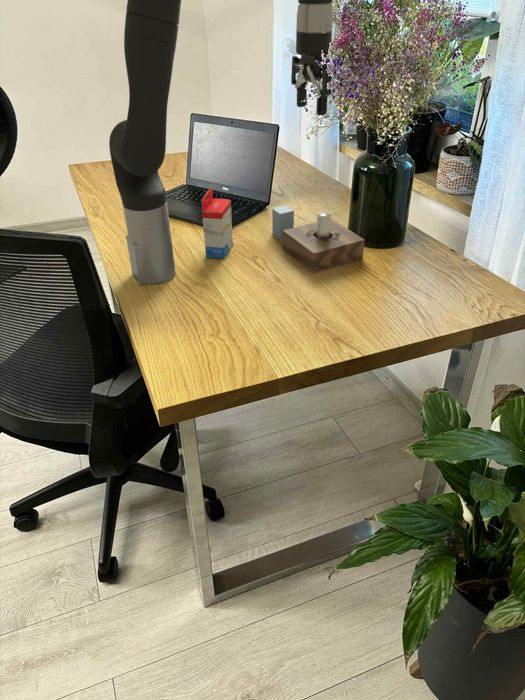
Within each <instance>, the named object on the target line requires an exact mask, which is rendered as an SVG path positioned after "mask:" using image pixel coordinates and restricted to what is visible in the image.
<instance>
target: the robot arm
mask: <svg viewBox="0 0 525 700" xmlns="http://www.w3.org/2000/svg"><path fill="white" fill-rule="evenodd" d="M181 5H182V0H127V3H126V8H125V9H126V12H125V19H124V20H125V21H124V33H123V35H124V36H123V49H124V58H125V61H124V62H125V68H126V73H127V74H126V75H127V82H128V89H129V90H128V91H129V101H128V108H127V109H128V110H127V117H126V118H127V119H124V120H121V121H120V122H118V123H117V124H116V125H115V126H114V127H113V129H112V130H111V133H110V134H109V142H108V144H109V145H108V146H109V155H110V160H111V165H112V168H113V170H112V171H113V174H114V179H115V183H116V188H117V191H118V193H119V195H120V199H121V205H122V208H123V214H124V221H125V225H126V231H127V235H126V236H125V238H126V239H125V240H126V244H127V251H128V257H129V261H130V268H131V272H132V273H131V274H132V275H133V276H134V278H135V279H136V281H137V283H138V284H139V285H146V284H147V285H158V284H164V283H166V282H168V281H170V280H173V278H174V277H175V276H176V263H175V257H174V256H175V255H174V251H173V249H174V248H173V242H172V239H173V238H172V233H171V225H170V217H169V216H170V215H169V210H168V207H169V206H168V199H167V193H166V192H167V191H166V188H165V186H164V184H163V182H162V180H161V177H160V173H159V170H160V168H161V166H162V165H163V164H164V162H165V161H164V160H165V157H166V147H167V146H166V145H167V120H168V119H167V117H168V104H169V103H168V102H169V95H170V89H171V82H172V74H173V67H174V61H175V54H176V49H177V48H176V47H177V41H178V40H177V39H178V33H179V25H180V17H181V16H180V14H181V7H182V6H181ZM333 12H334V11H333V0H297V11H296V25H295V26H296V30H295V32H296V33H295V34H296V35H295V36H296V37H295V53H296V55H293V56H292V57H291V58H292V61H291V79H290V81H291V85H294V87H295V89H296V107H298V108H304V107H306V106H307V100H306V101H305V102H301V101H303V100H304V99H305V98H306V99H307V97H308V96H307V91H308V89H307V88H308V85H309V83H311V84H312V87H313V88H314V85H318V87H317V88H315V92H316V95H317V97H316V112H315V113H316V115H317V116H325V115H326V114H327V110H328V97H329V96H331V95H330V94H331V89H330V88H329V87H328V88H329V89H328V88H327V83H328V84H330V83H329V82H330V81H331V79H332V77H331V76H329V75H328V73H327V71H326V69H327V64H328V63H327V64H324V65H323V67H322V68H321V67H320V66H319V65H318V64H317V62H315V61H316V60H317V61H319V62H322V57H321V50H323V53H324V54H325V55H327V56H328V55H329V54H328V49H329V46H330V45H329V43H330V42H331V43H332V38H333V35H332V34H333V22H332V21H331V20H330V19H331V18H332V17H334V16H333V14H334V13H333ZM321 71H322V72H321ZM316 90H317V91H316ZM324 114H325V115H324Z"/></svg>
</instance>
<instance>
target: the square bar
mask: <svg viewBox="0 0 525 700" xmlns="http://www.w3.org/2000/svg"><path fill="white" fill-rule="evenodd" d="M271 211H272V213H271V214H272V217H271V218H272V220H271V221H272V222H271V223H272V227H271V229H272V230H271V231H272V232H271V233H272V235H273V236H274V237H275V238H277V239H278V240H279V241H280V240H281V241H282V240H283V230H286V229H290V228H295V223H294V222H295V221H294V220H295V219H294V218H295V210H293V208H291V207H289V206H287V205H282V206H278V207H274V208H272V210H271Z"/></svg>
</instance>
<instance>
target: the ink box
mask: <svg viewBox="0 0 525 700" xmlns="http://www.w3.org/2000/svg"><path fill="white" fill-rule="evenodd" d="M213 192H214V191H213V187H212V186H210V188H209V189H208V190H207V192H206V193H205V194H204V195H203V197H202V199H201V216H202V225H203V236H204V237H203V238H204V247H205V257H206V258H213V259H226V257H227V255H228V253H229V252H230V250H231V248H232V247H233V245H234V243H233V242H234V241H233V240H234V239H233V221H232V220H233V219H232V218H233V217H232V202H231V199H227V198H214V197H213V196H214V195H213Z"/></svg>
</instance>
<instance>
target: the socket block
mask: <svg viewBox="0 0 525 700" xmlns="http://www.w3.org/2000/svg"><path fill="white" fill-rule="evenodd" d="M316 231H317V221H316V222H312V223H307V224H303V225H299V226H296V227H295V226H294V228H290V229H286V230H283V239H282V250H283V251H285V253H287V254H288V255H290V256H291V257H292V258H294V259H295V260H296V261H297V262H298V263H300V264H301V265H302V266H303V267H305V268H306V269H307V270H309V271H310V272H311V273H312V274H314V273H318V272H322V271H324V270H328V269H332V268H335V267H339V266H342V265H346V264H350V263H352V262H353V263H355V262H357V261H361V260H363V259H364V252H365V251H364V250H365V239H364V238H363V237H361V236H359V235H358V234H356V233H354V232H353V231H352V230H350V229H348V228H347V227H345V226H344V225H343V224H341V223H339V222H338V221H336V220H334V219H333V218H331V224H330V238H329V239H317V238H316Z"/></svg>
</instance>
